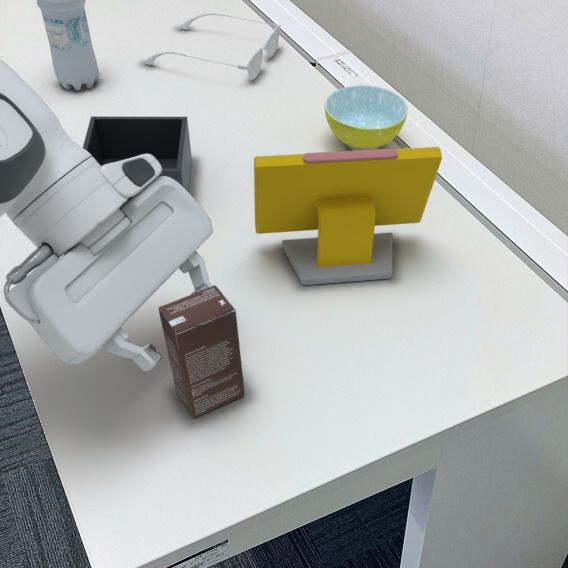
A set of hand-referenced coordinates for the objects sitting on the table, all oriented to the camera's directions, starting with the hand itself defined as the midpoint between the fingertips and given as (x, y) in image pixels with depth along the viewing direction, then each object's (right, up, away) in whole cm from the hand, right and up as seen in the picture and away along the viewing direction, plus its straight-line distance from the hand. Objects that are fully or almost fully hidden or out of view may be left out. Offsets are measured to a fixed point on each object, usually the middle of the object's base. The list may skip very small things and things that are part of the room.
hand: (184, 331), depth 72 cm
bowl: (+17, +27, +38) cm, 50 cm away
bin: (-12, +19, +29) cm, 37 cm away
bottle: (-26, +39, +46) cm, 65 cm away
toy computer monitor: (+14, +9, +21) cm, 27 cm away
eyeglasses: (-7, +46, +54) cm, 71 cm away
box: (+1, -6, +6) cm, 9 cm away
